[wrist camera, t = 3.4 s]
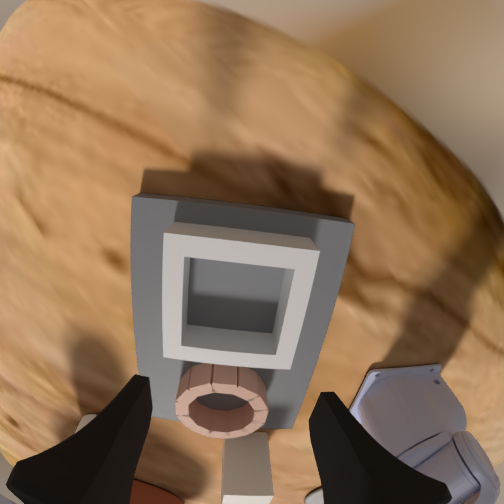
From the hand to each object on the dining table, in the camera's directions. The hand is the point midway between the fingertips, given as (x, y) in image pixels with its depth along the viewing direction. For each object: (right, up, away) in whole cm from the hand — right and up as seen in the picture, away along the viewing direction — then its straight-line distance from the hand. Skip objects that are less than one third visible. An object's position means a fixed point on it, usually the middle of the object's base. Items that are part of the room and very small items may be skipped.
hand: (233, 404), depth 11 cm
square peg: (0, -14, +16) cm, 22 cm away
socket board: (-1, 0, +11) cm, 11 cm away
